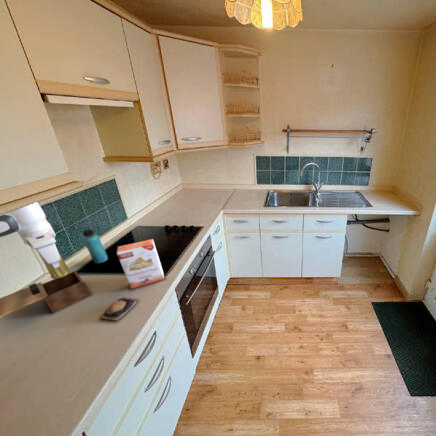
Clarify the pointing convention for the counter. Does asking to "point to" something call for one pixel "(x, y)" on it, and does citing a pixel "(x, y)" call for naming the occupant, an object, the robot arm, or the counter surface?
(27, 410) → the counter surface
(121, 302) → the brown oval piece
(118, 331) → the counter surface
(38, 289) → the lid
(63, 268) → the vase
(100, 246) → the beverage bottle
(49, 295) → the box
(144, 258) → the cracker box
